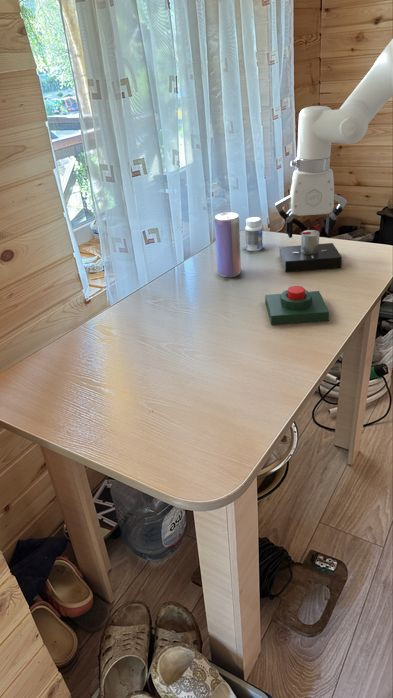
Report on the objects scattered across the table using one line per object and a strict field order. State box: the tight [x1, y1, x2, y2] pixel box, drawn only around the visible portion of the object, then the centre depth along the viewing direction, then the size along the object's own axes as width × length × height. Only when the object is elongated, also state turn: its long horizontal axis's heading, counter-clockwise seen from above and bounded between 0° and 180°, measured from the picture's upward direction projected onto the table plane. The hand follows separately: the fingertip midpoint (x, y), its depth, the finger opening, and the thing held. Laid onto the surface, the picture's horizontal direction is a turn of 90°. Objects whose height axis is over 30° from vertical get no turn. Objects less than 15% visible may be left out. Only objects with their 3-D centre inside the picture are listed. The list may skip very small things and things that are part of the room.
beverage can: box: [214, 211, 242, 279], centre depth 128 cm, size 6×6×15 cm
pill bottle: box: [244, 216, 263, 252], centre depth 143 cm, size 5×5×8 cm
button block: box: [264, 289, 330, 326], centre depth 111 cm, size 12×10×4 cm
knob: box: [300, 229, 321, 255], centre depth 130 cm, size 4×4×5 cm
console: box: [279, 242, 343, 273], centre depth 133 cm, size 14×10×3 cm
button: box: [287, 285, 306, 300], centre depth 109 cm, size 4×4×2 cm
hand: (309, 234), depth 130 cm, fingers open, 9 cm apart
